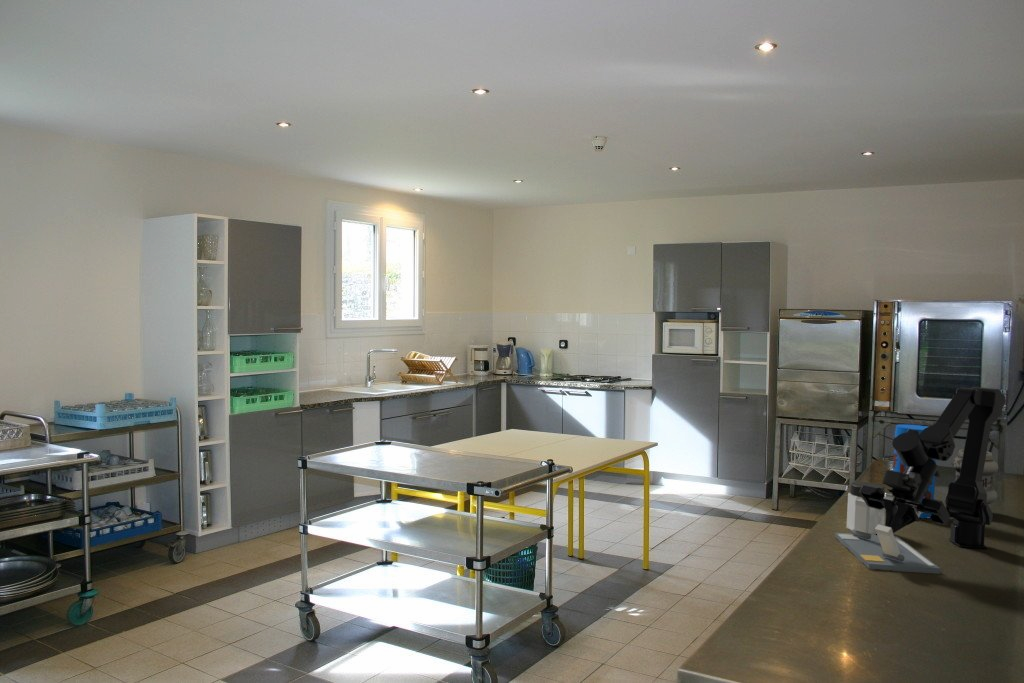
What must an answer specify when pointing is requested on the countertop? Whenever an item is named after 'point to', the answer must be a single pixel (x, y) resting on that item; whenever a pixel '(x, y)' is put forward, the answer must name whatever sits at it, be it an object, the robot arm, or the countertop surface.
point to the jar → (875, 514)
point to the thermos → (900, 467)
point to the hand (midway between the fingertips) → (887, 533)
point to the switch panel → (873, 558)
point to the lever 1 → (861, 519)
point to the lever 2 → (888, 543)
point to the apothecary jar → (987, 476)
